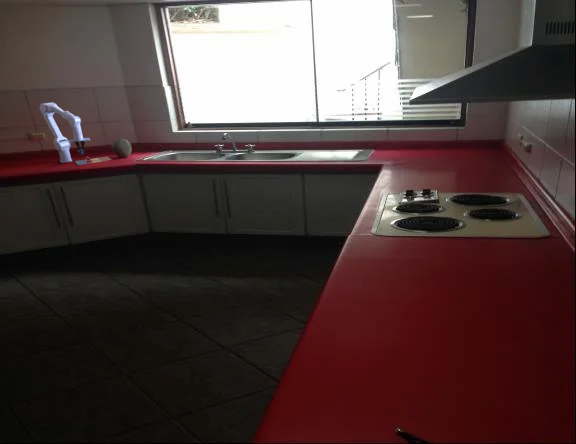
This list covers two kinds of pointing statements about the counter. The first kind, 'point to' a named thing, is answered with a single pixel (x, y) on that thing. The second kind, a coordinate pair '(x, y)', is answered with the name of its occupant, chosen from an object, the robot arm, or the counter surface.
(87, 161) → the red spoon
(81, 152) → the blue spoon
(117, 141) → the cantaloupe
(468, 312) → the counter surface
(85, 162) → the board
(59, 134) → the robot arm
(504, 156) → the counter surface
